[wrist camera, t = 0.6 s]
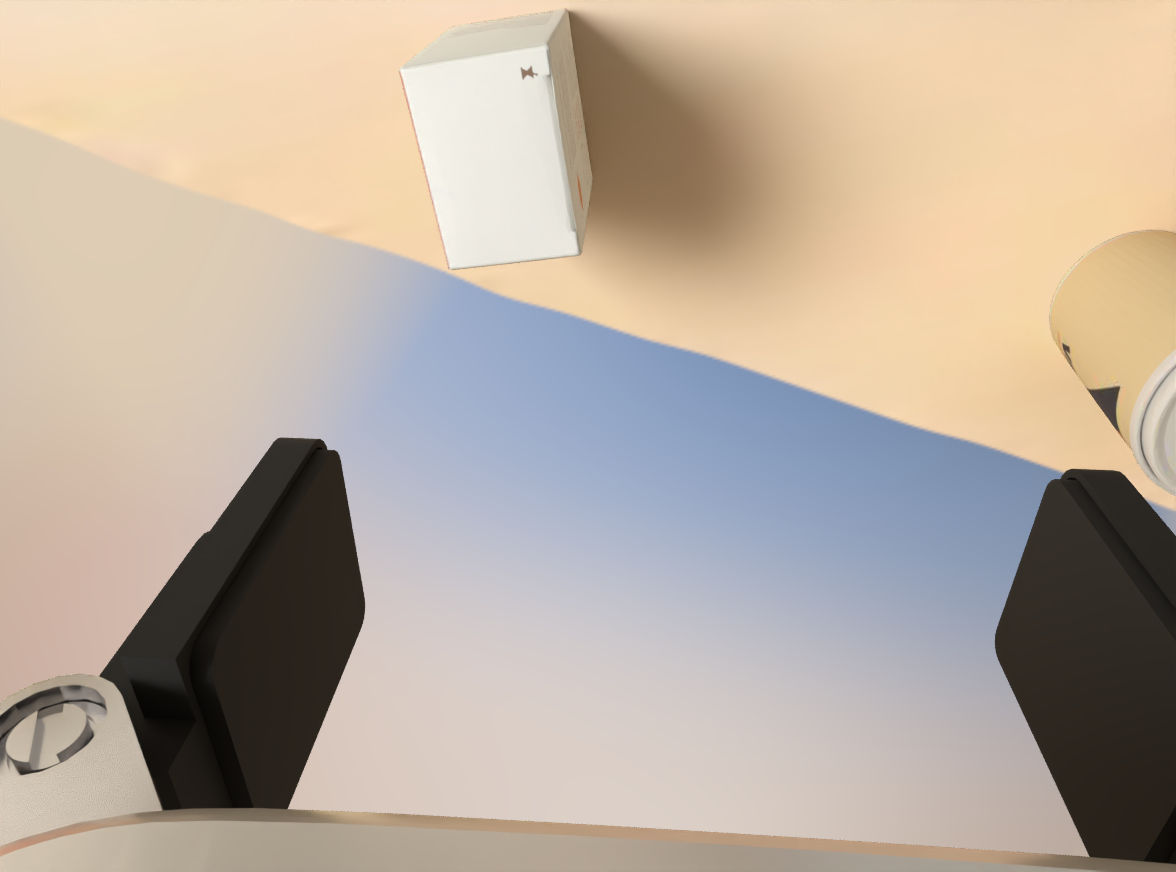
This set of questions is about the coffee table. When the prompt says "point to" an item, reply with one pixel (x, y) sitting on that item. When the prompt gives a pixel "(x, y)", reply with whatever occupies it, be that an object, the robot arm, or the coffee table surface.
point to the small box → (502, 139)
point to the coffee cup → (1126, 341)
